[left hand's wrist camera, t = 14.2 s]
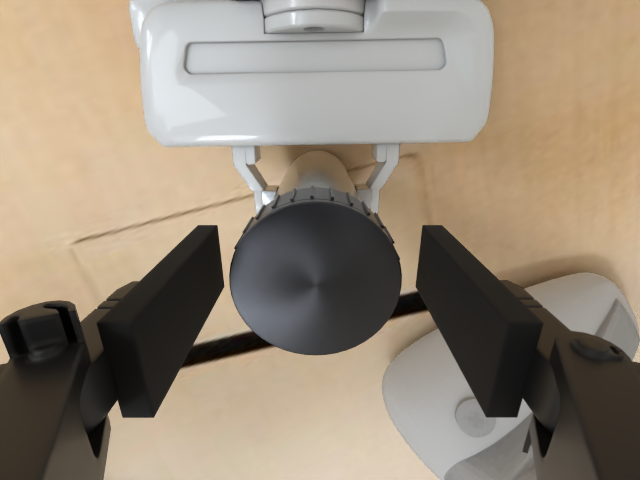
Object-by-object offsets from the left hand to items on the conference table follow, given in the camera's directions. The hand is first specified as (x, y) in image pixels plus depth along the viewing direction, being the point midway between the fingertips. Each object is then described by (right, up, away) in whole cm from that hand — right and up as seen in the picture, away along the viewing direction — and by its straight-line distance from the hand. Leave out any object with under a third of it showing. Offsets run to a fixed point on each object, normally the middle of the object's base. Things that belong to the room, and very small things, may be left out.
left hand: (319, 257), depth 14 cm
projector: (+18, -10, +21) cm, 30 cm away
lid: (0, -1, -2) cm, 2 cm away
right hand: (0, +3, +10) cm, 10 cm away
